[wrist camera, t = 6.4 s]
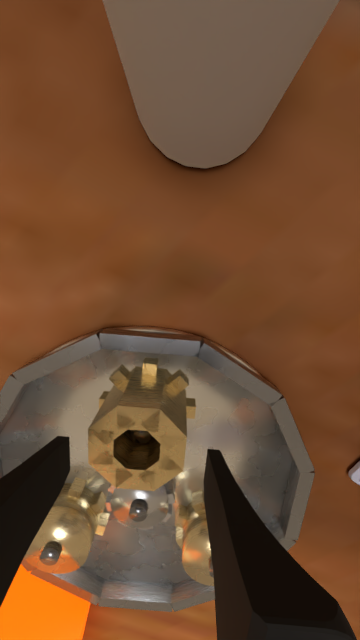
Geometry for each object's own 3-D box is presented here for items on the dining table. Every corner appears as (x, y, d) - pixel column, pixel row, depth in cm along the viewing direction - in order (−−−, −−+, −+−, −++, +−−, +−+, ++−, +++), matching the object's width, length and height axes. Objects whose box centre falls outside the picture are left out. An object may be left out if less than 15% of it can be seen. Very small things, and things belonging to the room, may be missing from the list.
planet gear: (199, 361, 16) (205, 400, 12) (190, 442, 17) (192, 504, 13) (104, 353, 16) (73, 389, 12) (103, 435, 17) (75, 494, 13)
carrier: (361, 439, 18) (415, 492, 14) (183, 612, 23) (183, 692, 19) (91, 255, 16) (55, 252, 11) (-49, 496, 20) (-111, 558, 16)
